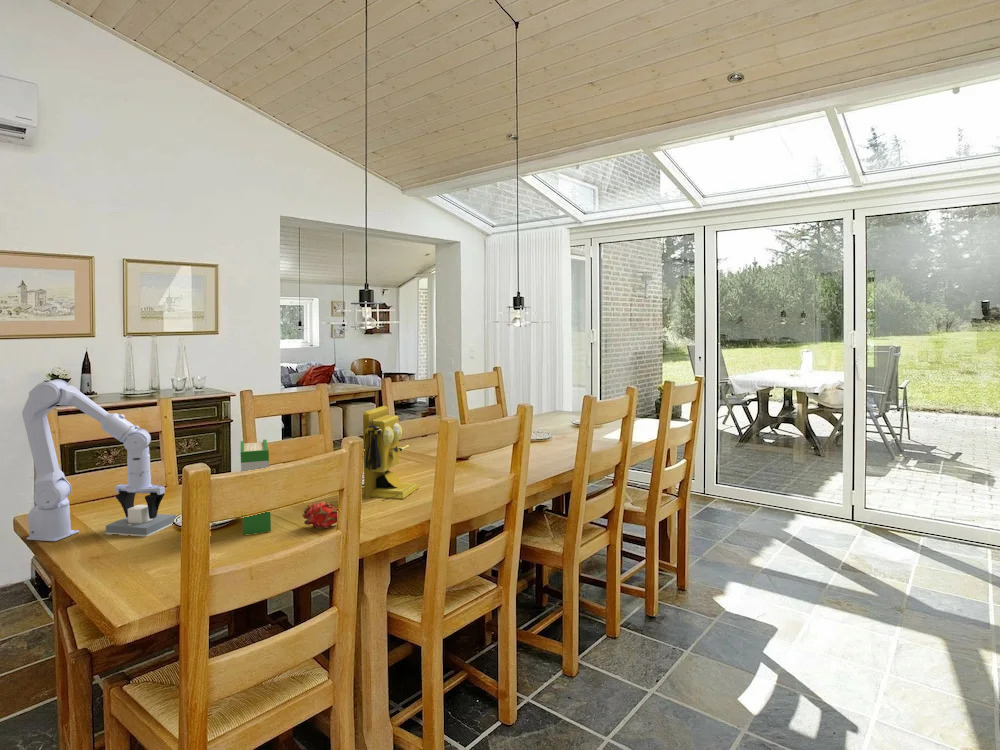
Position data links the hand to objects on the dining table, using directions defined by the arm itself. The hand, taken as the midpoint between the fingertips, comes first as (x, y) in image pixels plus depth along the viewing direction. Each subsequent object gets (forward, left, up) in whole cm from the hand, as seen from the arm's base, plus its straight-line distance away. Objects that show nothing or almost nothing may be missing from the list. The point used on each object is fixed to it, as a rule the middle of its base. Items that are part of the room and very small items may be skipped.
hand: (141, 517), depth 179 cm
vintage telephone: (+60, +48, -4) cm, 77 cm away
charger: (0, 0, -3) cm, 3 cm away
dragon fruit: (+52, +10, -4) cm, 53 cm away
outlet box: (0, 0, -3) cm, 3 cm away
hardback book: (+31, +9, -4) cm, 32 cm away
